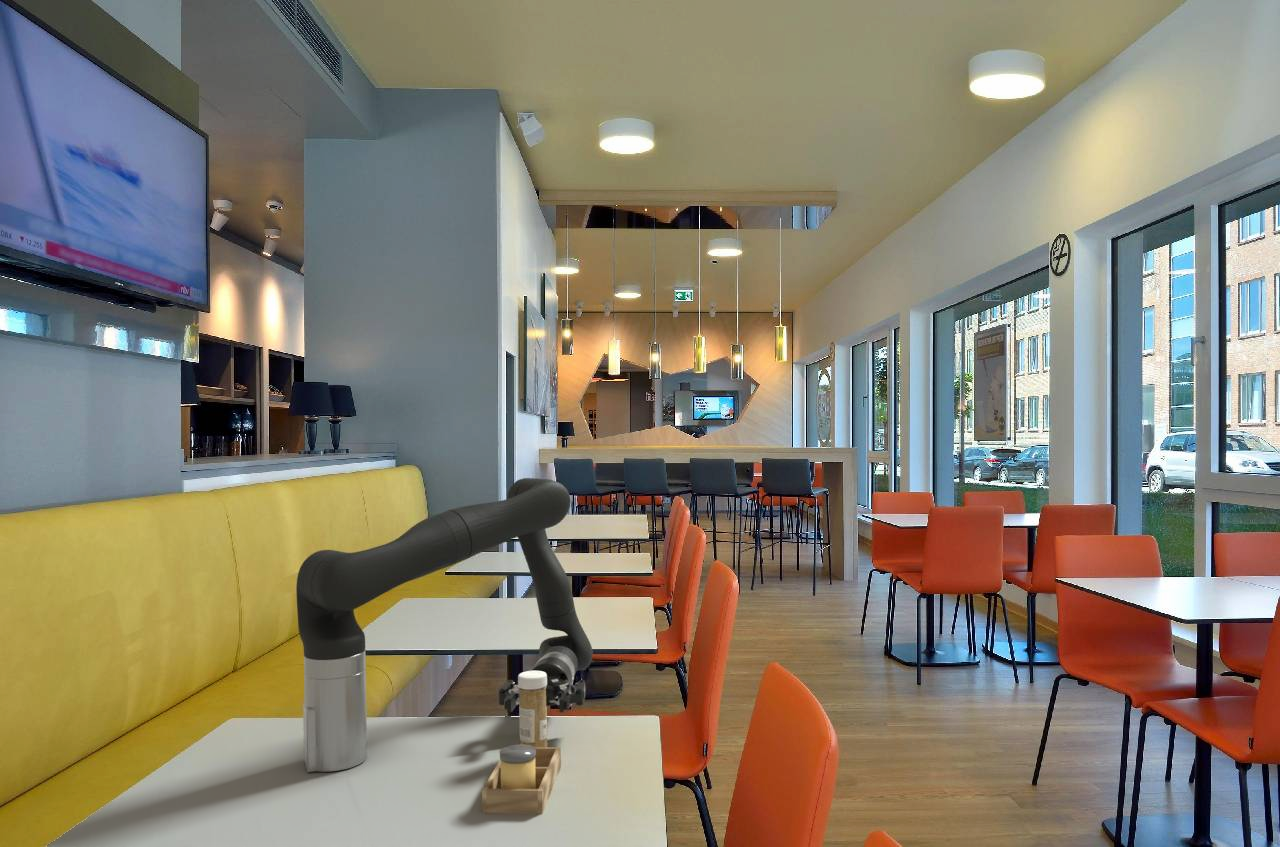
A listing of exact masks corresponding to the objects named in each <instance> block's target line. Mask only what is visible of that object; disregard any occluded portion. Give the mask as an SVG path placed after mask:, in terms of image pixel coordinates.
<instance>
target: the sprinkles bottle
mask: <svg viewBox="0 0 1280 847" xmlns="http://www.w3.org/2000/svg"><path fill="white" fill-rule="evenodd" d="M517 685H518V687H519V699H520V701H519V702H520V703H519V704H518V705H519V706H518V708H519V709H518V711H519V714H518V715H519V717H518V718H519V719H518V720H519V722H518V723H519V739H520V742H519V744H524V745H530V746H533V747H548V720H547V719H548V717H547V716H548V714H547V713H548V712H547V711H548V708H547V707H548V706H546V685H547V674H546V673H545V672H543V671H531V670H527V671H523V672H520V673H519V674H518V676H517Z"/></svg>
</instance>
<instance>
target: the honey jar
mask: <svg viewBox="0 0 1280 847" xmlns="http://www.w3.org/2000/svg"><path fill="white" fill-rule="evenodd" d="M535 757H536V748H535V747H533V746H530V745H524V744H520V743H519V744H511V745H508V746H505V747H503V748H501V749H500V751H499V761H500V760H501V789H536V770H535Z"/></svg>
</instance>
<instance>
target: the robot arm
mask: <svg viewBox="0 0 1280 847" xmlns="http://www.w3.org/2000/svg"><path fill="white" fill-rule="evenodd" d="M571 500H572V499H571V496H570V493H569V491H568V488H566V486H564V484H562V483H560V482H559V481H558V482H557V481H556V480H553V479H550V478H549V479H548V478H535V477H525V478H520V479H517V480H516V481H515V482H514V483H513V484H512V485H511V486H510V488H509V489H508V493H507V496H506V499H503V500H498V501H491V502H483V503H477V504H470V505H464V506H459V507H455V508H452V509H448V510H445V511H443V512H440V513H437V514H434V515H432V516H429V517H427V518H424V519H423V520H421V521H418V522H417V523H416V524H414V525H413V526H411V527H410V528H409V529H407V530H406V531H405V532H404V533H403V534H402V535H400V536H399V537H398V538H395V539H393V540H391V541H390V542H387V543H385V544H381V545H378V546H374V547H371V548H368V549H364V550H360V551H354V552H345V551H340V550H334V549H322V550H318V551H315V552H313V553H312V554H310V555H309V556H307V557H306V558H305V560H303V562H302V564H301V565H300V567H299V570H298V573H297V577H296V588H295V590H296V611H297V612H296V613H297V625H298V627H297V628H298V634H299V637H300V640H301V642H302V647H303V680H304V681H303V682H304V683H303V688H304V692H303V693H304V699H303V702H302V710H303V711H302V713H303V714H302V716H303V717H302V721H303V723H302V724H303V727H302V728H303V761H304V764H305V768H306V772H307V773H313V772H322V773H323V772H324V773H326V772H327V773H329V772H337V771H342V770H347V769H350V768H353V767H357V766H359V765H361V764H362V763H363V762H365V761H366V759H367V758H368V736H367V734H368V732H367V731H368V730H367V724H368V723H367V677H366V676H367V674H366V673H367V671H366V664H367V663H366V636H365V635H366V634H365V632H364V631H363V629H362V628H361V627H360V624H358V621H357V619H356V616H355V611H354V610H356V609H358V608H360V607H362V606H364V605H366V604H368V603H370V602H371V601H373V600H375V599H377V598H379V597H380V596H382V595H384V594H385V593H388V592H389V591H392V590H393V589H395V588H397V587H399V586H401V585H403V584H405V583H409V582H411V581H413V580H417V579H419V578H422V577H426V576H427V575H430V574H433V573H435V572H437V571H440V570H443V569H446V568H448V567H452V566H454V565H456V564H459V563H461V562H463V561H467V560H468V559H470V558H472V557H475V556H476V555H478V554H481V553H483V552H485V551H488V550H491V549H493V548H495V547H497V546H499V545H501V544H503V543H506V542H508V541H510V540H512V539H515V538H517V539H518V541H519V544H520V547H521V550H522V554H523V556H524V559H525V562H526V563H527V567H528V569H529V574H530V576H531V580H532V584H533V588H534V593H535V598H536V603H537V608H538V613H539V619H540V622H541V625H542V627H544V629H547V630H550V631H559V632H563V633H565V634H566V635H561V636H560V635H558V636H553V637H548V638H546V639H544V640H543V641H541V643H540V644H539V648H538V656H539V659H538V660H537V661H536V663H535V664H534V666H533V668H532V669H531V670H530V671H543V672H545V673H546V674H547V685H546V707H551V706H556V705H557V706H558V708H559V710H558V711H559V713H562V714H563V713H565V712H566V711H568V710H569V709H570V707H572V706H573V704H576V705H577V706H583V705H584V704H585V703H584V702H585V699H586V680H584V679H580V680H578V681H577V682H575V683H574V680H575V675H576V673H577V671H582V670H586V669H588V668H589V666H590V665H591V664H592V662H593V657H594V656H593V655H594V654H593V647H592V644H591V642H590V640H589V638H588V636H587V634H586V632H585V630H584V628H583V627H582V625H581V622H580V620H579V617H578V615H577V612H576V607H575V601H574V596H573V590H572V587H571V584H570V581H569V578H568V576H567V574H566V571H565V569H564V567H563V566H562V564H561V562H560V561H559V558H558V557H557V555H556V554H555V552H554V550H553V548H552V546H551V544H550V541H549V538H548V535H547V532H546V529H549V528H552V527H554V526H557V525H558V524H559V523H561V522H562V521H563V520H564V519H565V517H567V514H568V513H569V510H570V508H571V502H572V501H571ZM573 683H574V684H573ZM516 694H517V695H516ZM519 701H520V699H519V687H518V684H515V682H514V680H513V679H508V680H506V681H505V682H504V683H503V684H502V685H501V686H500V687H499V688H498V705H500V706H504V708H503V709H504V710H506V712H507V713H512V712H513V711H514V710H515V708H516V707H517V706H518V705H519V703H520V702H519Z"/></svg>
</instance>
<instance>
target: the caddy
mask: <svg viewBox="0 0 1280 847" xmlns="http://www.w3.org/2000/svg"><path fill="white" fill-rule="evenodd" d="M535 748H536V757H535V770H536V789H501V760H500V759H499V761H498V762H497V763H496V766H495V768H494V769H493V771H492V772H491V774H490V775H489V777H488V780H487V781H486V782H485V785H484V786H483V787H482V790H481V801H482V802H481V811H482V814H528V815H529V814H533V815H534V814H535V815H536V814H538V815H541V814H542V815H543V813H544V811H545V808H546V806H547V804H548V800H549V798H550V795H551V793H552V791H553V789H554V786H555V784H556V781H557V778H558V776H559V774H560V771H561V768H562V750H561V747H560V746H558V747H557V746H556V747H555V746H553V747H552V746H547V747H535Z"/></svg>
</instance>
